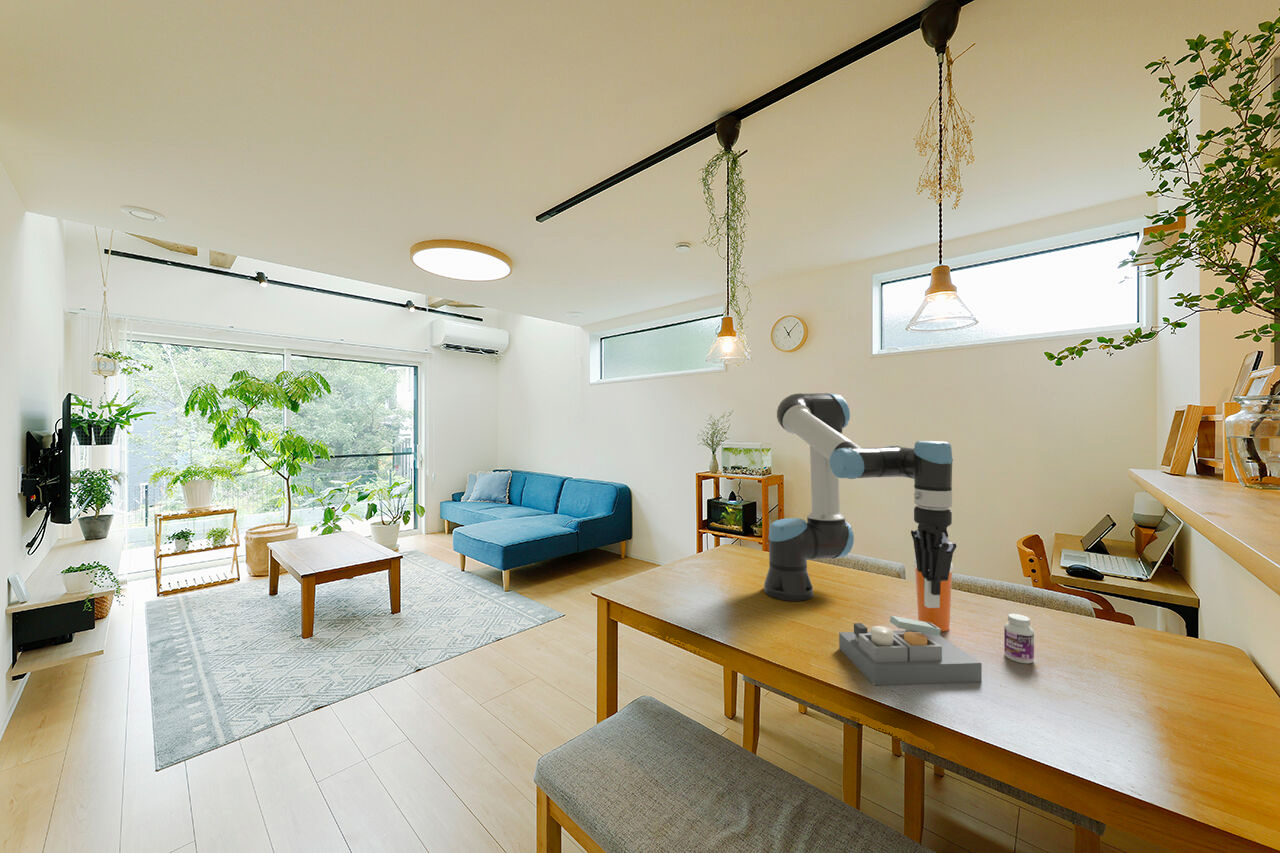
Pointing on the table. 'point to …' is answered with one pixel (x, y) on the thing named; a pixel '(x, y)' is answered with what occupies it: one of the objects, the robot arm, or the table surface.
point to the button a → (882, 636)
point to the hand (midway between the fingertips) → (931, 606)
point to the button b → (915, 638)
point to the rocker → (915, 625)
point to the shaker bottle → (942, 614)
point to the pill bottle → (1019, 639)
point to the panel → (910, 660)
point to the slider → (859, 629)
